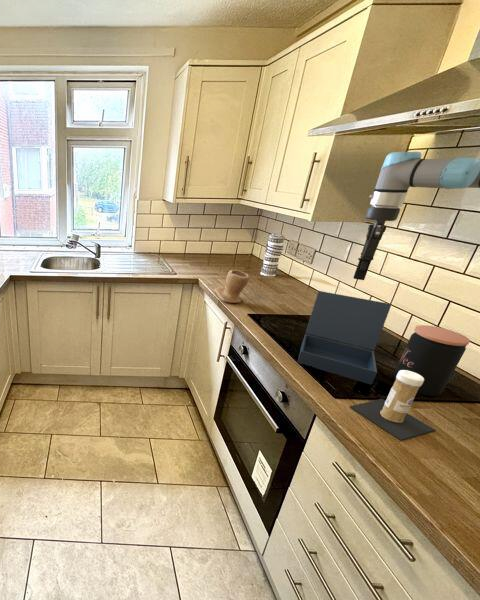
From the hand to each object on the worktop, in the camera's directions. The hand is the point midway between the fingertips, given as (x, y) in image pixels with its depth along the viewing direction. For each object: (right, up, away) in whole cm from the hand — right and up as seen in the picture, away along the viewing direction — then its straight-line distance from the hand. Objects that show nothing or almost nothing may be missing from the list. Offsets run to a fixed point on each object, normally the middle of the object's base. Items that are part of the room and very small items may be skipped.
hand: (358, 278), depth 107 cm
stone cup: (-19, -7, +53) cm, 56 cm away
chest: (-9, -29, 0) cm, 30 cm away
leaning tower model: (+24, +9, +91) cm, 95 cm away
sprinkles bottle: (-13, -38, -24) cm, 47 cm away
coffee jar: (+7, -34, -11) cm, 36 cm away
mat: (-13, -38, -24) cm, 47 cm away
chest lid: (-3, -14, +1) cm, 14 cm away
